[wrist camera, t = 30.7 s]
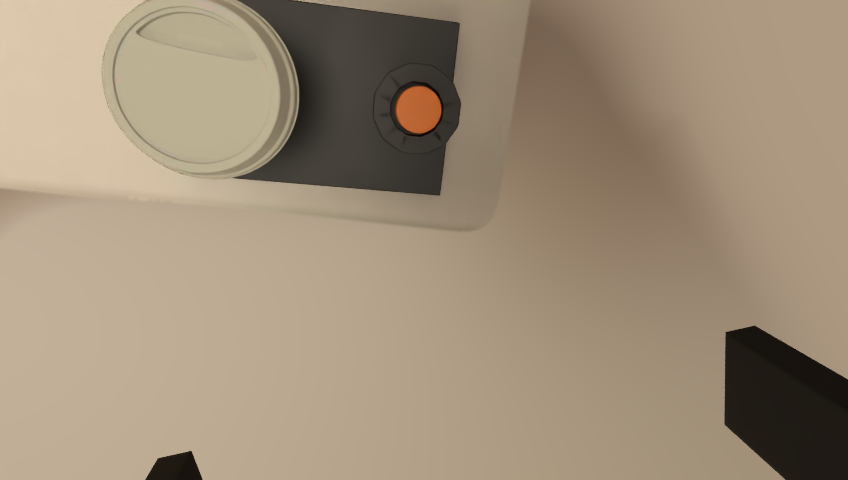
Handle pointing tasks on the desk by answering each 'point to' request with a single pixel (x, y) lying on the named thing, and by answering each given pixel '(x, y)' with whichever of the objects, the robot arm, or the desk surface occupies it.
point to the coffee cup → (201, 86)
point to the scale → (362, 97)
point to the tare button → (418, 109)
